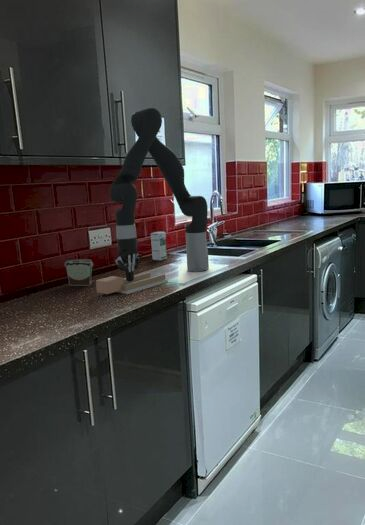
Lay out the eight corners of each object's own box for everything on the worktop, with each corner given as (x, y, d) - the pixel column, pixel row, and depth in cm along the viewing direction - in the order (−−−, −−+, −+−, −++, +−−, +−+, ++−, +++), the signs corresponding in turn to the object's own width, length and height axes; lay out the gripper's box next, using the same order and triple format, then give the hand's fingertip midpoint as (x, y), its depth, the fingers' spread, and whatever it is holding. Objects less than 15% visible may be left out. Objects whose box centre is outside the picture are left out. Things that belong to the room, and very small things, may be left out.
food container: (100, 282, 183) (98, 258, 181) (93, 285, 177) (91, 261, 175) (73, 281, 186) (71, 258, 184) (66, 285, 180) (63, 261, 178)
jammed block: (113, 287, 166) (112, 276, 166) (124, 289, 163) (123, 277, 162) (96, 292, 160) (95, 280, 160) (107, 294, 157) (106, 281, 156)
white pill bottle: (160, 260, 227) (159, 232, 225) (152, 259, 231) (150, 232, 228) (167, 258, 232) (166, 231, 229) (159, 258, 235) (157, 231, 233)
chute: (146, 279, 184) (145, 272, 184) (167, 281, 177) (167, 274, 176) (106, 290, 168) (105, 282, 167) (127, 294, 160) (127, 286, 160)
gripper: (132, 234, 173) (135, 276, 176) (106, 238, 163) (110, 283, 166) (145, 234, 168) (149, 278, 171) (120, 239, 158) (124, 285, 161)
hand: (130, 281), depth 169 cm, fingers closed
